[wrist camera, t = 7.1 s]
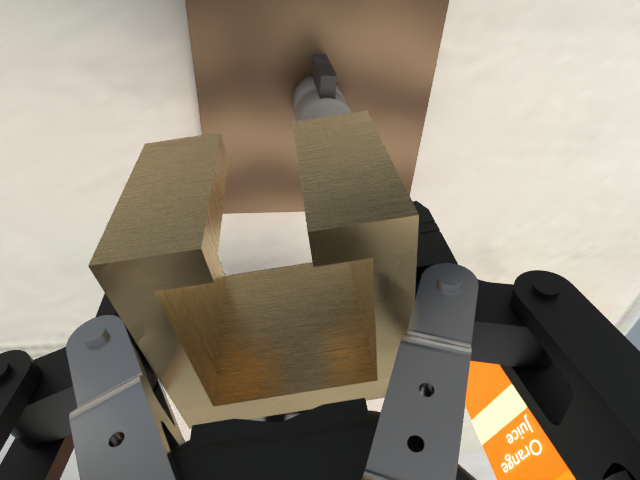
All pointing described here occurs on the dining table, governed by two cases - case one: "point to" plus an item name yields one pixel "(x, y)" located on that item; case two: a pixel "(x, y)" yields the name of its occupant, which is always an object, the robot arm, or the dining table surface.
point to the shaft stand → (308, 82)
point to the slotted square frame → (265, 277)
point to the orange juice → (509, 428)
